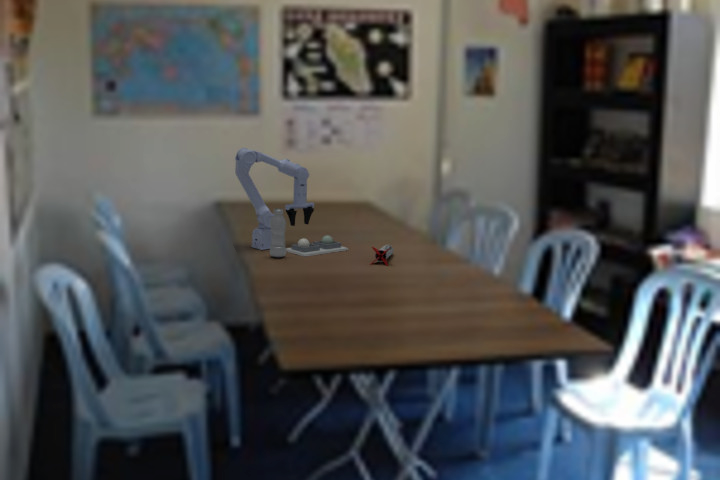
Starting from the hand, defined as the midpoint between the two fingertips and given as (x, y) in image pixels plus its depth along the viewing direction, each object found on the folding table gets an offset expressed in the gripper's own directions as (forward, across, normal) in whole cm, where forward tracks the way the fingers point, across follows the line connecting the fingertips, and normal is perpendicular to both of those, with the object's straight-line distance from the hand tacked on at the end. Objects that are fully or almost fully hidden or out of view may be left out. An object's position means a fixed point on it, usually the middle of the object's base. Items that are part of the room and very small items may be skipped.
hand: (299, 224), depth 376 cm
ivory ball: (+6, -7, -12) cm, 15 cm away
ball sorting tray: (+9, 0, -12) cm, 15 cm away
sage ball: (+6, +6, -12) cm, 15 cm away
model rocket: (+10, +12, -41) cm, 44 cm away
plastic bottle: (+10, -22, -14) cm, 28 cm away
